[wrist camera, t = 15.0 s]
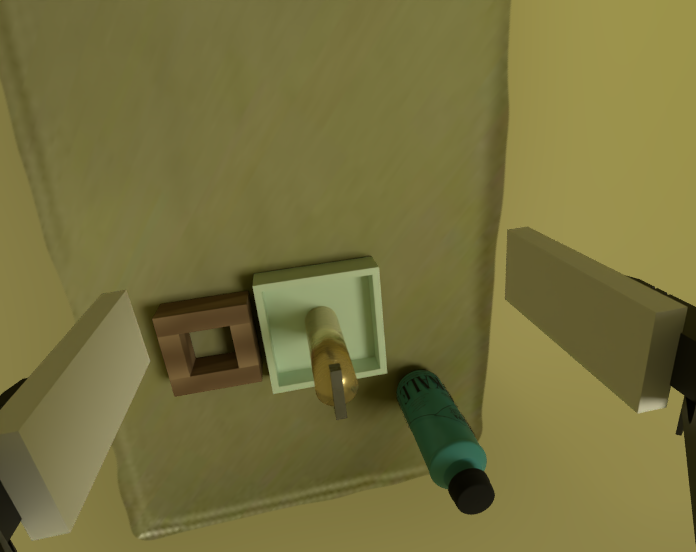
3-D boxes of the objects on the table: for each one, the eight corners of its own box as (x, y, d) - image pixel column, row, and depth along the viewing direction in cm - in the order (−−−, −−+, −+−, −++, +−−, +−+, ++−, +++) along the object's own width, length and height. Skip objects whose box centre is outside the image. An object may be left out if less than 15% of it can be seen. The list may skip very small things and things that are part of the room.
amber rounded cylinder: (301, 304, 52) (313, 375, 38) (335, 299, 53) (358, 367, 39) (307, 342, 54) (320, 423, 40) (339, 337, 55) (363, 415, 41)
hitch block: (160, 303, 51) (152, 319, 47) (248, 290, 52) (246, 304, 48) (181, 377, 54) (174, 396, 51) (262, 363, 55) (262, 381, 52)
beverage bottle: (421, 408, 62) (484, 535, 43) (382, 392, 60) (431, 517, 41) (446, 372, 60) (523, 486, 42) (407, 354, 58) (470, 466, 40)
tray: (253, 273, 51) (252, 286, 47) (371, 256, 53) (378, 267, 49) (273, 375, 56) (273, 393, 53) (379, 356, 58) (387, 373, 54)
